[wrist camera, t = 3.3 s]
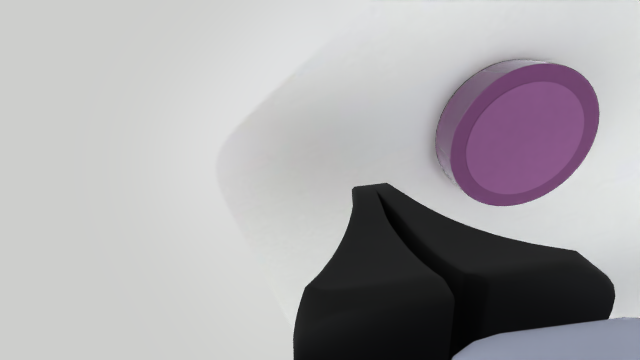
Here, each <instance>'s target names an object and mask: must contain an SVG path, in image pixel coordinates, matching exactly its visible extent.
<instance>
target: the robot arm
mask: <svg viewBox="0 0 640 360" xmlns="http://www.w3.org/2000/svg"><path fill="white" fill-rule="evenodd" d="M352 200H353V208H352V214H351V217H350V221H349V224H348V227H347V230H346V232H345V235H344V237H343V239H342V241H341V243H340V245H339V247H338V248H337V250H336V252H335V253H334V255H333V257H332V258H331V259H330V261H329V262H328V263H327V265H326V266H325V267H324V269H323V270H322V271H321V272H320V273H319V274H318V275H317V276H316V277H315V278H314V279H313V280H312V281H311V282H310V283H309V284H308V285H307V286H306V287H305V289H304V292H303V295H302V298H301V302H300V305H299V309H298V312H297V317H296V322H295V328H294V336H293V337H294V338H293V348H294V360H640V318H630V317H623V318H615V319H609V316H610V314H611V311H612V309H613V304H614V300H615V290H614V285H613V283H612V282H611V280H610V279H609V278H608V276H607V275H605V274H604V273H603V272H602V271H600V270H599V269H598V268H597V267H595V266H594V265H593V264H592V263H591V262H589V261H588V260H587V259H586V258H584V257H583V256H582V255H581V254H579V253H578V252H577V251H573V250H567V249H561V248H555V247H549V246H543V245H536V244H531V243H527V242H522V241H518V240H514V239H509V238H506V237H502V236H498V235H494V234H491V233H488V232H485V231H482V230H478V229H475V228H472V227H470V226H467V225H464V224H462V223H459V222H457V221H454V220H452V219H450V218H447V217H445V216H443V215H441V214H439V213H437V212H435V211H433V210H431V209H429V208H427V207H426V206H424V205H422V204H420V203H418V202H417V201H415V200H413V199H412V198H410V197H409V196H407V195H405V194H404V193H402V192H401V191H399V190H398V189H396V188H394V187H393V186H391V185H390V184H388V183H381V184H373V185H365V186H357V187H354V188H353V189H352Z"/></svg>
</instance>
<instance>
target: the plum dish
mask: <svg viewBox="0 0 640 360" xmlns="http://www.w3.org/2000/svg"><path fill="white" fill-rule="evenodd" d="M598 124H599V104H598V100H597V96H596V94H595V91H594V89H593V87H592V86H591V84H590V83H589V82H588V80H587V79H586V78H585V77H584V76H583V75H581V74H580V73H579V72H577V71H575V70H574V69H572V68H569V67H567V66H564V65H559V64H554V63H547V62H540V61H533V60H523V59H518V60H509V61H504V62H500V63H497V64H494V65H492V66H489V67H487V68H485V69H483V70H481V71H480V72H478V73H477V74H475V75H474V76H472V77H471V78H470V79H469V80H467V81H466V82H465V83H464V84H463V85H462V86H461V87H460V88H459V89H458V90H457V91H456V92H455V93H454V95H453V96H452V97H451V99H450V100H449V102H448V103H447V105H446V106H445V108H444V110H443V112H442V115H441V117H440V120H439V123H438V127H437V131H436V140H435V142H436V153H437V157H438V160H439V163H440V165H441V167H442V169H443V170H444V172H445V173H446V174H447V175H448V176H449V177H450V178H451V179H452V180H453V181H454V182H455V183H456V184H457V185H458V186H459V187H460V188H461V189H462V190H463V191H464V192H465V193H466V194H467V195H468V196H470V197H471V198H473V199H475V200H477V201H479V202H481V203H485V204H488V205H494V206H512V205H518V204H523V203H526V202H529V201H532V200H535V199H537V198H539V197H541V196H543V195H545V194H547V193H549V192H550V191H552V190H553V189H555V188H557V187H558V186H559V185H560V184H562V183H563V182H564V181H565V180H566V179H568V178H569V177H570V176H571V175H572V174H573V173H574V171H575V170H576V169H577V168H578V167H579V166H580V164H581V163H582V162H583V160H584V159H585V157H586V155H587V154H588V152H589V150H590V148H591V146H592V144H593V142H594V139H595V136H596V133H597V129H598Z"/></svg>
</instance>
